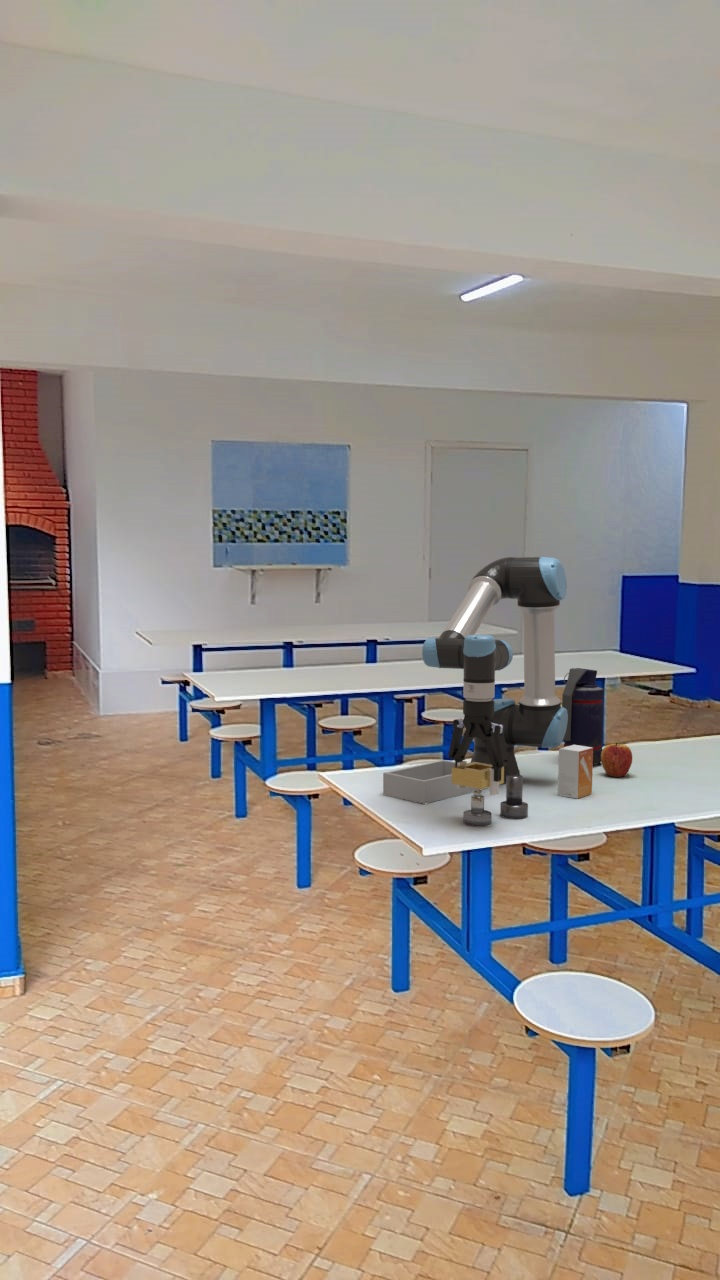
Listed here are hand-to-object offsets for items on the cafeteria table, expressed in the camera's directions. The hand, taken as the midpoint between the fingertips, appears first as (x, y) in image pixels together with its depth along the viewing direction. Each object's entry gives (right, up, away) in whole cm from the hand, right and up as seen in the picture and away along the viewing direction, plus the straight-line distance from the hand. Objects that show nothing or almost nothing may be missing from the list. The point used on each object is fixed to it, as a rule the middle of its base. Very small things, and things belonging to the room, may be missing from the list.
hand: (477, 791), depth 244 cm
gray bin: (-8, -5, +33) cm, 35 cm away
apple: (+47, -4, +54) cm, 72 cm away
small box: (+30, -6, +30) cm, 43 cm away
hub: (0, -8, +1) cm, 8 cm away
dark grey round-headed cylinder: (+10, -7, +8) cm, 15 cm away
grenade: (+41, -2, +71) cm, 81 cm away
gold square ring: (0, +2, 0) cm, 2 cm away
